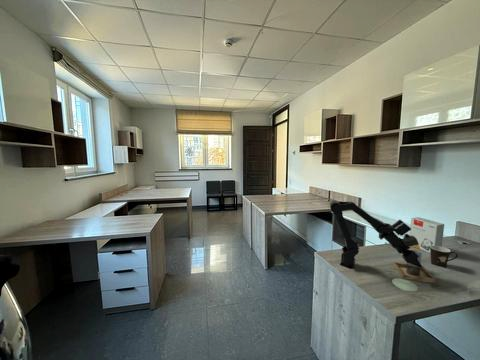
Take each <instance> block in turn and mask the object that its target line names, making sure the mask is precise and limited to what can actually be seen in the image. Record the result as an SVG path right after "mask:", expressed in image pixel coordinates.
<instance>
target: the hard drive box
mask: <svg viewBox="0 0 480 360" xmlns="http://www.w3.org/2000/svg"><path fill="white" fill-rule="evenodd" d="M409 227H410V228H411V230H410V231H409V235H410V236H411V235H412V236H414V237H415V238H416V239H417V241H418V243H419V245H414V246H412V247H413V248H416V249H419V250H421V251H424V252H426V253H429V254H430V246H432V245H435V246H441V247H443V240H444V239H443V238H444V230H445V224H444V223H441V222H438V221H434V220H431V219H427V218H422V217H418V216H416V217H411V218H410V226H409Z"/></svg>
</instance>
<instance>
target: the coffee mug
mask: <svg viewBox="0 0 480 360" xmlns="http://www.w3.org/2000/svg"><path fill="white" fill-rule="evenodd" d="M429 254H430V264H431V265H433V266H436V267H441V268H447V265H448V262H449V261H453V260H456V259H457V258H458V253H456V252H454V251H451V249H449V248H447V247H445V246H442V247H441V246H435V245H432V246H430V253H429ZM451 254H455V256H454V257H453V258H450V255H451ZM449 258H450V259H449Z"/></svg>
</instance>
